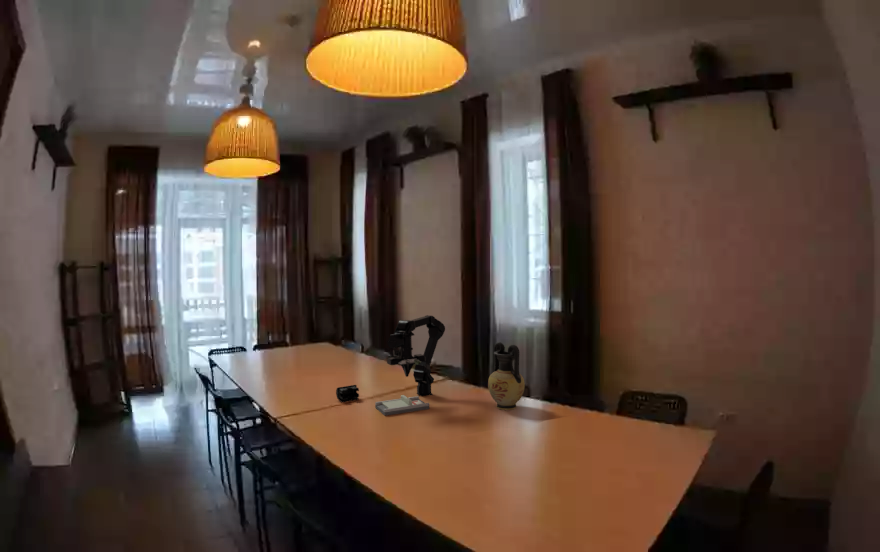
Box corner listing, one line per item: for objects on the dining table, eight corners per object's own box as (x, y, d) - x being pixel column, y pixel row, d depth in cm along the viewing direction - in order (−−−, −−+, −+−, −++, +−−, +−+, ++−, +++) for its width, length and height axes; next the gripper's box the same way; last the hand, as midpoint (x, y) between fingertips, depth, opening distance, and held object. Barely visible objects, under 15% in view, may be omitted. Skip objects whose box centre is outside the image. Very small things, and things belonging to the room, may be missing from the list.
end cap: (354, 396, 264) (354, 383, 264) (359, 399, 258) (359, 386, 258) (336, 399, 259) (335, 386, 258) (341, 402, 253) (340, 389, 252)
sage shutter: (403, 401, 247) (403, 394, 247) (412, 406, 237) (412, 400, 236) (381, 404, 242) (381, 397, 242) (389, 410, 232) (389, 403, 232)
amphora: (532, 406, 239) (531, 343, 238) (511, 415, 227) (510, 348, 226) (502, 400, 251) (500, 339, 250) (480, 407, 239) (479, 344, 238)
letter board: (418, 401, 252) (418, 396, 251) (429, 408, 239) (429, 403, 239) (375, 407, 242) (375, 402, 242) (384, 415, 230) (384, 409, 230)
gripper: (416, 341, 265) (417, 371, 266) (382, 345, 257) (383, 375, 257) (425, 344, 255) (426, 375, 256) (390, 348, 247) (391, 380, 247)
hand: (406, 376), depth 254 cm, fingers closed
